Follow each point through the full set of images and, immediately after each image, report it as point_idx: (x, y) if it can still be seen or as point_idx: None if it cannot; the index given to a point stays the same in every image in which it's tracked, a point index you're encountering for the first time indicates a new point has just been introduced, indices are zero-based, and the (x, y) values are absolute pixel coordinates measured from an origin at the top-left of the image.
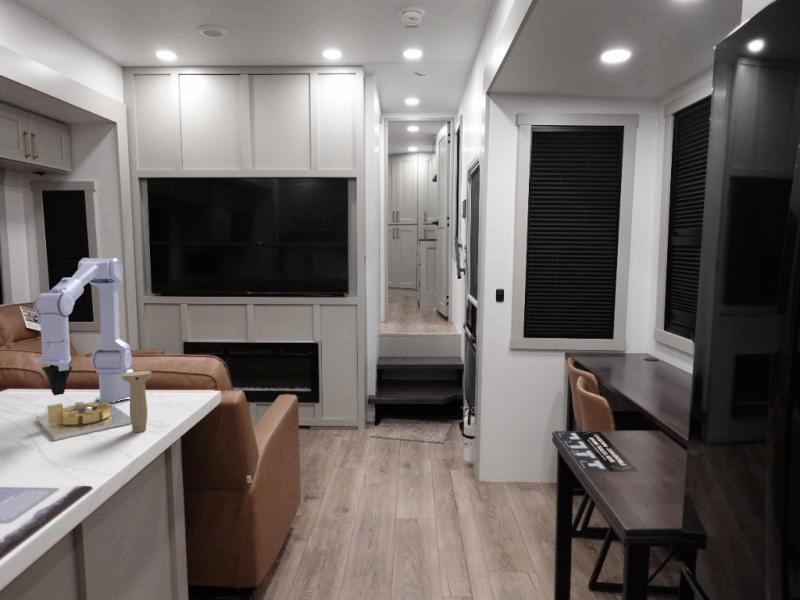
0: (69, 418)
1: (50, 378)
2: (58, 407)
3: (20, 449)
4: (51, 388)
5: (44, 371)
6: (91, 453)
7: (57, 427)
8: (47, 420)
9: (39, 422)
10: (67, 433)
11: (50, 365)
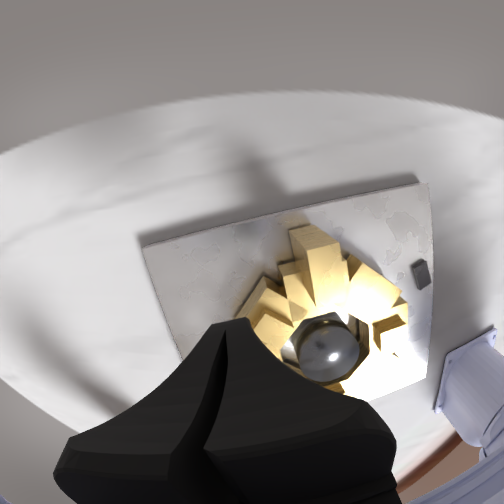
0: (249, 308)
1: (133, 407)
2: (311, 286)
3: (107, 153)
4: (227, 336)
5: (272, 418)
6: (24, 327)
7: (252, 255)
8: (369, 218)
9: (377, 191)
10: (156, 289)
11: (371, 497)
